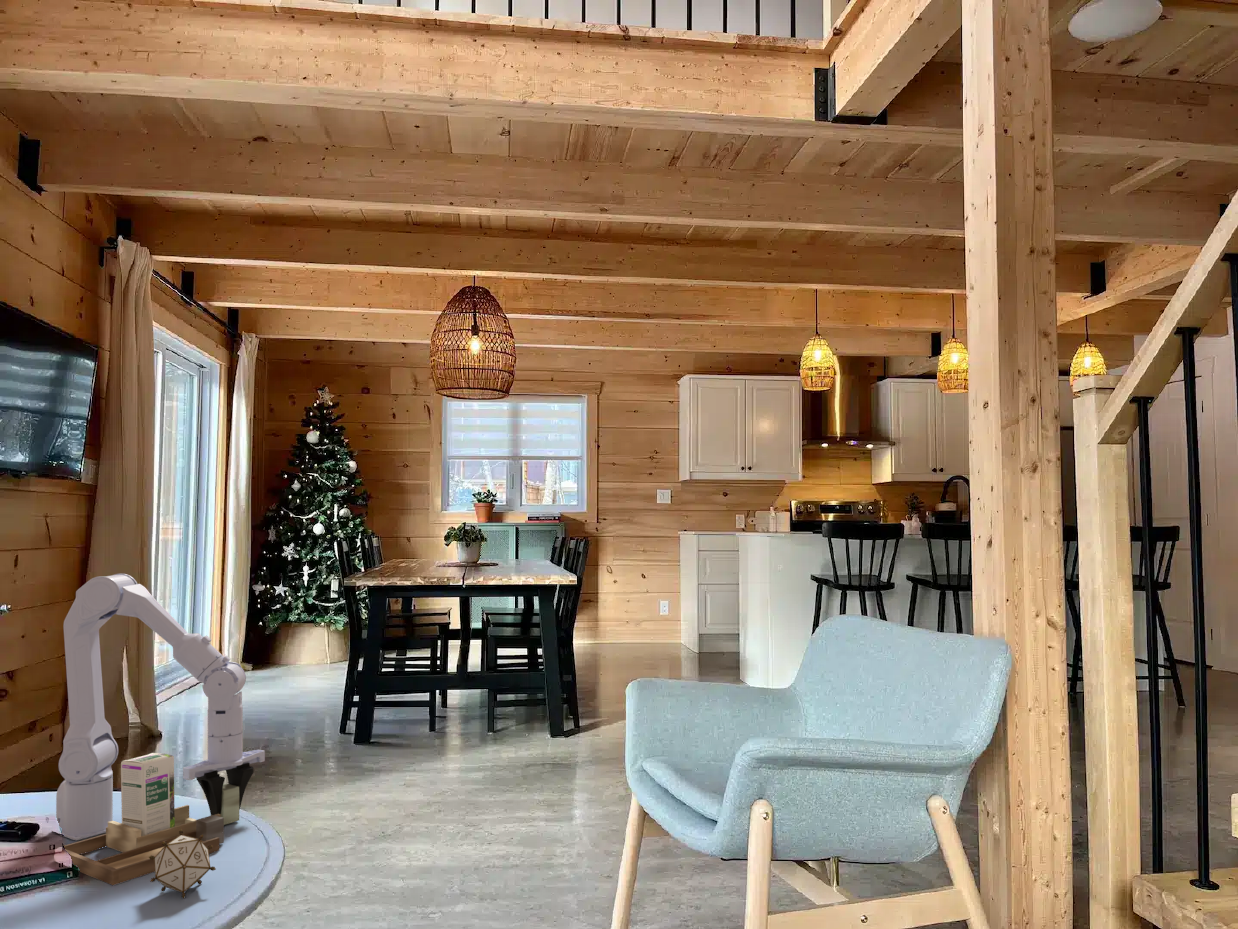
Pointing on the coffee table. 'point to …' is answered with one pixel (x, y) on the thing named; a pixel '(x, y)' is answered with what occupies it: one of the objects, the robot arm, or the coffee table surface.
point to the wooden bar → (205, 827)
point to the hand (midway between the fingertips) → (225, 812)
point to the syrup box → (148, 792)
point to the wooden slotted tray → (131, 838)
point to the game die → (181, 863)
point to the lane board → (125, 873)
